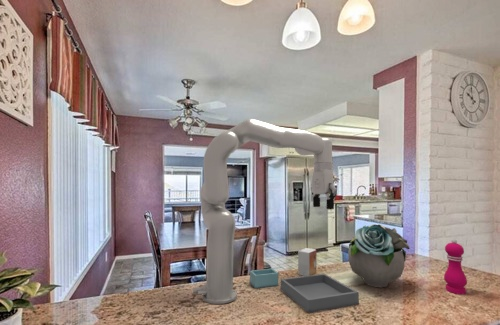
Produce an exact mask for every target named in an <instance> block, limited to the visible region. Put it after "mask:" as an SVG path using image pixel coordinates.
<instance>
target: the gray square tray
mask: <svg viewBox="0 0 500 325" xmlns="http://www.w3.org/2000/svg"><path fill="white" fill-rule="evenodd" d="M280 290H281V291H282V292H283V293H284V294H285V295H287V297H289V298H290V299H291V300H292V301H293V302H294V303H296V304H297V305H298V306H299V307H300V308H302V309H303V310H304V311H306V313H308V314H310V313H317V312H322V311H327V310H334V309H339V308H345V307H346V308H347V307H351V306H355V305H359V304H360V292H359V291H357V290H356V289H354V288H352V287H350V286H348V285H347V284H344V283H343V282H340V281H339V280H337V279H335V278H334V277H332V276H329V275H328V274H326V273H317V274H313V275H310V276H303V275H301V276H294V277H287V278H280Z"/></svg>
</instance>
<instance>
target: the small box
mask: <svg viewBox="0 0 500 325" xmlns="http://www.w3.org/2000/svg"><path fill="white" fill-rule="evenodd" d="M297 258H298V259H297V260H298V261H297V266H298V268H297V269H298V270H297V273H298V275H299V276H310V275H316V273H317V249H315V248H309V247H305V248H303V249H300V250H298V251H297Z"/></svg>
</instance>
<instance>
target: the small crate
mask: <svg viewBox="0 0 500 325" xmlns="http://www.w3.org/2000/svg"><path fill="white" fill-rule="evenodd" d="M279 276H280V275H279V272H278V271H276V270H275V269H274V268H264V269H255V270H249V284H250V285H251V286H252V287H253V288H254V289H255V290H256V289H262V288H270V287H271V288H272V287H278V286H279V278H280V277H279Z"/></svg>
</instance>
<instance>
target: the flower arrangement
mask: <svg viewBox="0 0 500 325" xmlns="http://www.w3.org/2000/svg"><path fill="white" fill-rule="evenodd" d="M404 248H405V249H406V250H410V248H411V247H410V245H409V244H408V240H406V239H405V238H404V237H403V236H402V235H401V234H400V233H398V232H397V229H396V227H395V228H390V227H385V226H384V225H382V224H371V225H367V226H366V225H363V226H362V227H360V228H357V229H356V230H355V233H354V236H353V237H352V239H351V240H350V242H349V244H348V252H347V253H348V254H347V255H348V256H347V258H348V264H349V266H350V269H351V271H352V272H353V273H354V274H355V275H357V276H358V277H359V278H361V279H363V281H364V283H365V284H366V285H368V286H370V287H372V288H373V287H375V288H385V287H387V286H388V284H389V283H391V282H395V281H396V280H398V279H400V278H401V277H402V275H403V272H404V269H405V262H406V259H407V258H406V257H407V256H406V255H407V252H406V250H405V249H404Z"/></svg>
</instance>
